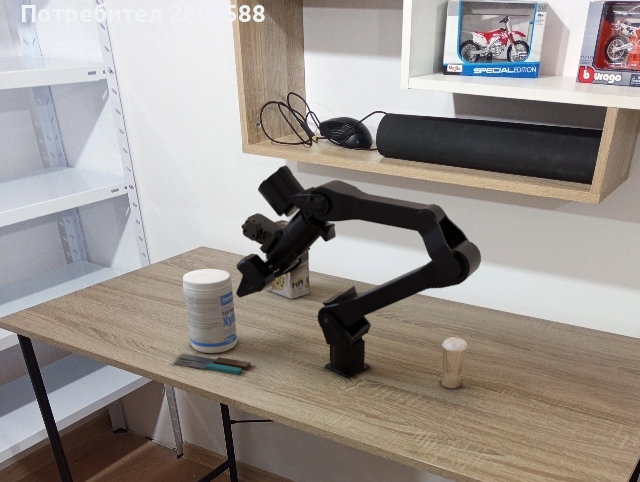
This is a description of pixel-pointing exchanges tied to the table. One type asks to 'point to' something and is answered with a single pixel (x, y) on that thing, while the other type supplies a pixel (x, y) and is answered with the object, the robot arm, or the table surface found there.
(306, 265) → the coffee box
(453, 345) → the milkshake
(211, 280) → the supplement tub
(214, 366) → the fork
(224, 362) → the knife
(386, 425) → the table surface
